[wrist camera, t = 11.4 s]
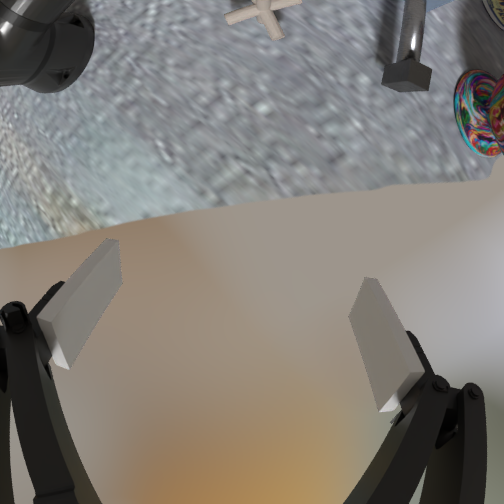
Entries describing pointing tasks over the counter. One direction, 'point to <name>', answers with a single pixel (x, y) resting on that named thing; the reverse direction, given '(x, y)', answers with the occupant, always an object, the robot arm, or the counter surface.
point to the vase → (481, 112)
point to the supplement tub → (495, 11)
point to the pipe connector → (262, 15)
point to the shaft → (409, 53)
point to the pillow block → (435, 4)
